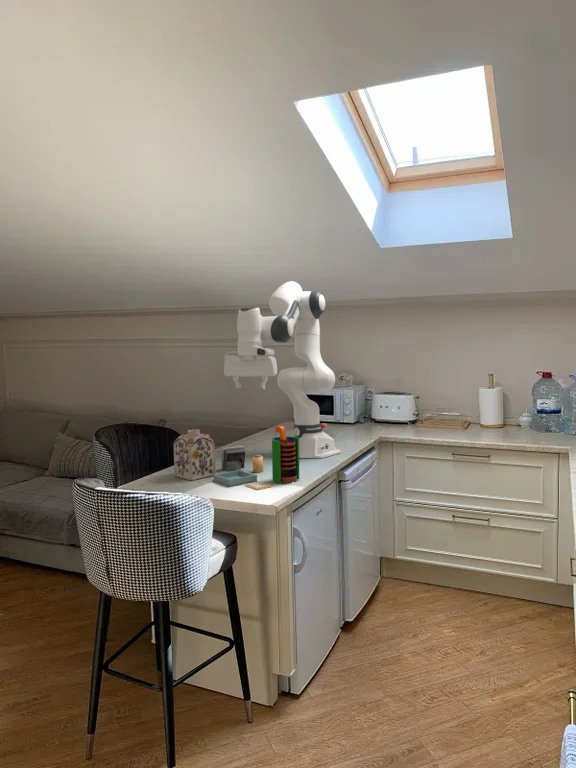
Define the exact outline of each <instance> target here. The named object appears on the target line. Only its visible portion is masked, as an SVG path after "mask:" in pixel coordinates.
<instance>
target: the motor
mask: <svg viewBox="0 0 576 768" xmlns="http://www.w3.org/2000/svg"><path fill="white" fill-rule="evenodd" d="M275 433H279V436H276V437H272V438H271V462H272V463H271V465H272V466H271V468H272V470H271V471H272V483H274V484H276V483H277V485H281V484H284V483H288V484H293V483H292V482H294V483H296V482H297V481H298V480H297V479H299V480H300V458H299V438H298V437H295V436H289V435H288V436H287V434H286V429H285V426H283V425H278V426H275Z"/></svg>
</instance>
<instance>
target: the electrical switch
mask: <svg viewBox="0 0 576 768" xmlns="http://www.w3.org/2000/svg"><path fill="white" fill-rule="evenodd" d="M221 452H222V454H221V470H225V471H227V466H226V462H232V461H237V462H241V468H243V469H244V468H245V459H246V447H245V446H244V445H239V446H238V445H237V446H229V447H223V448H222V451H221Z"/></svg>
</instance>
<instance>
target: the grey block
mask: <svg viewBox="0 0 576 768" xmlns="http://www.w3.org/2000/svg"><path fill="white" fill-rule="evenodd" d="M226 466H227V470H226V472H230V471H235V470H242V469H241V462H237V461H232V462H226Z"/></svg>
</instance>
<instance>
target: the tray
mask: <svg viewBox="0 0 576 768" xmlns="http://www.w3.org/2000/svg"><path fill="white" fill-rule="evenodd" d="M213 482H216V483H217V482H218V483H217V484H221V485H223V486H226V487H229V488H231V487H237V486H242V485H246V484H251V483H256V482H258V474H257V473H254V472H253V473H252V472H249V471H246V470H242V469H241V470H235V471H230V472H227V471H225V472H220V473H216V474H214V476H213Z"/></svg>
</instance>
